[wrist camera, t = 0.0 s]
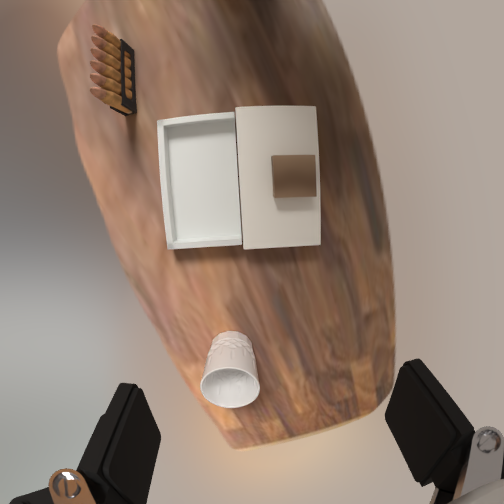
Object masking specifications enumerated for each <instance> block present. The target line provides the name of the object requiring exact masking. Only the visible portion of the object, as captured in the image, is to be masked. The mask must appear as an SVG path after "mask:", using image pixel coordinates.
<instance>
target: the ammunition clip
mask: <svg viewBox="0 0 504 504" xmlns="http://www.w3.org/2000/svg"><path fill="white" fill-rule="evenodd" d="M92 27H93V30H94V32H95V33H96V34H97V35H98V36H99V37H98V36H92V37H91V38H92V41H93V43H94V44H95V45H96V46H97V47H98V48H99V49H98V48H91V53H92V55H93V56H94V57H95V58H96V59H97V60H98V61H96V60H92V61H90V64H91V66H92V68H93V69H94V70H95V71H97V72H98V73H99V74H96V73H93V74H90V78H91V80H92V81H93V82H94V83H96V84H97V85H98V86H100V87H101V88H98V87H92V88H90V92H91V93H92V94H93V95H94V96H95V97H96V98H98V99H100V100H102V101H103V102H104V103H105V104H107V105H110V108H111V109H113V110H115V111H117V112H119V113H121V114H123V115H125V116H127V115H131V114H134V113H136V112H137V107H136V91H135V67H134V50H133V49H132V48H131V47H130V46H129V45H128V44H127V43H126V42H124V41H123V40H122V39H120V40H119V39H118V38H117V37H116V36H115V35H114V34H112V33H110V32H109V31H107V30H106V29H105V28H103V27H102V26H100V25H96V24H93V25H92ZM100 74H101V75H100Z"/></svg>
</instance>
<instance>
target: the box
mask: <svg viewBox="0 0 504 504" xmlns="http://www.w3.org/2000/svg"><path fill="white" fill-rule="evenodd" d="M157 128H158V150H159V167H160V180H161V192H162V203H163V213H164V222H165V231H166V239H167V247H168V249H183V248H199V247H214V246H230V245H242V234H241V218H240V202H239V186H238V169H237V151H236V133H235V115H234V112H225V113H213V114H203V115H194V116H185V117H178V118H171V119H164V120H158V121H157Z"/></svg>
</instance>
